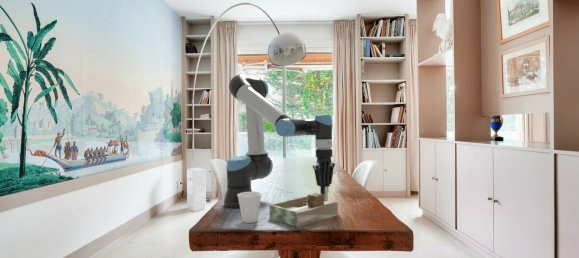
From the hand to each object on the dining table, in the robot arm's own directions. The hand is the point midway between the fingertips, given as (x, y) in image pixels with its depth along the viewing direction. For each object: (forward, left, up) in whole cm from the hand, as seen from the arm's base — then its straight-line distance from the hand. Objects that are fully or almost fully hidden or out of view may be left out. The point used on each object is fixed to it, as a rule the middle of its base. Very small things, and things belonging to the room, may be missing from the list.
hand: (324, 200), depth 144 cm
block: (0, -6, -1) cm, 6 cm away
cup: (-11, -33, -5) cm, 35 cm away
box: (0, -13, -4) cm, 14 cm away
